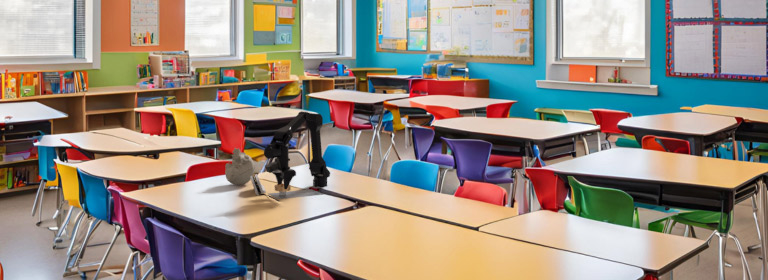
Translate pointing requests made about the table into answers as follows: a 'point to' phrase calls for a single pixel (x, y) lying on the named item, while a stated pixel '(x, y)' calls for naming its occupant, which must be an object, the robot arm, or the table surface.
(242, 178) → the grey lumpy stone
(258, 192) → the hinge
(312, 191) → the base
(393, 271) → the table surface
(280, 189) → the ring
